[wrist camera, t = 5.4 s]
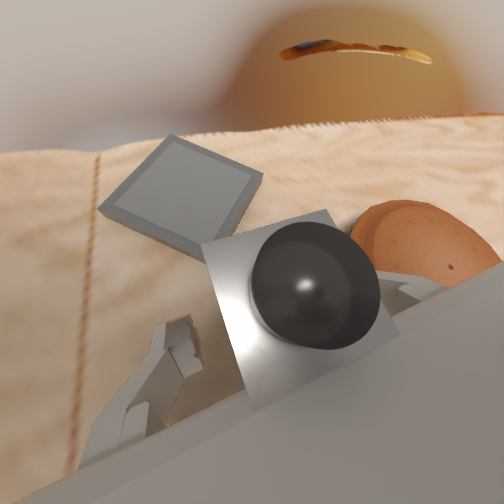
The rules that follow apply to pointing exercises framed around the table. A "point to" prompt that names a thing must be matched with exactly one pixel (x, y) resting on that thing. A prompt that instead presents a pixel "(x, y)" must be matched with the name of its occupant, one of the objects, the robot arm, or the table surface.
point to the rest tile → (184, 196)
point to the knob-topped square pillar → (296, 302)
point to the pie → (422, 242)
